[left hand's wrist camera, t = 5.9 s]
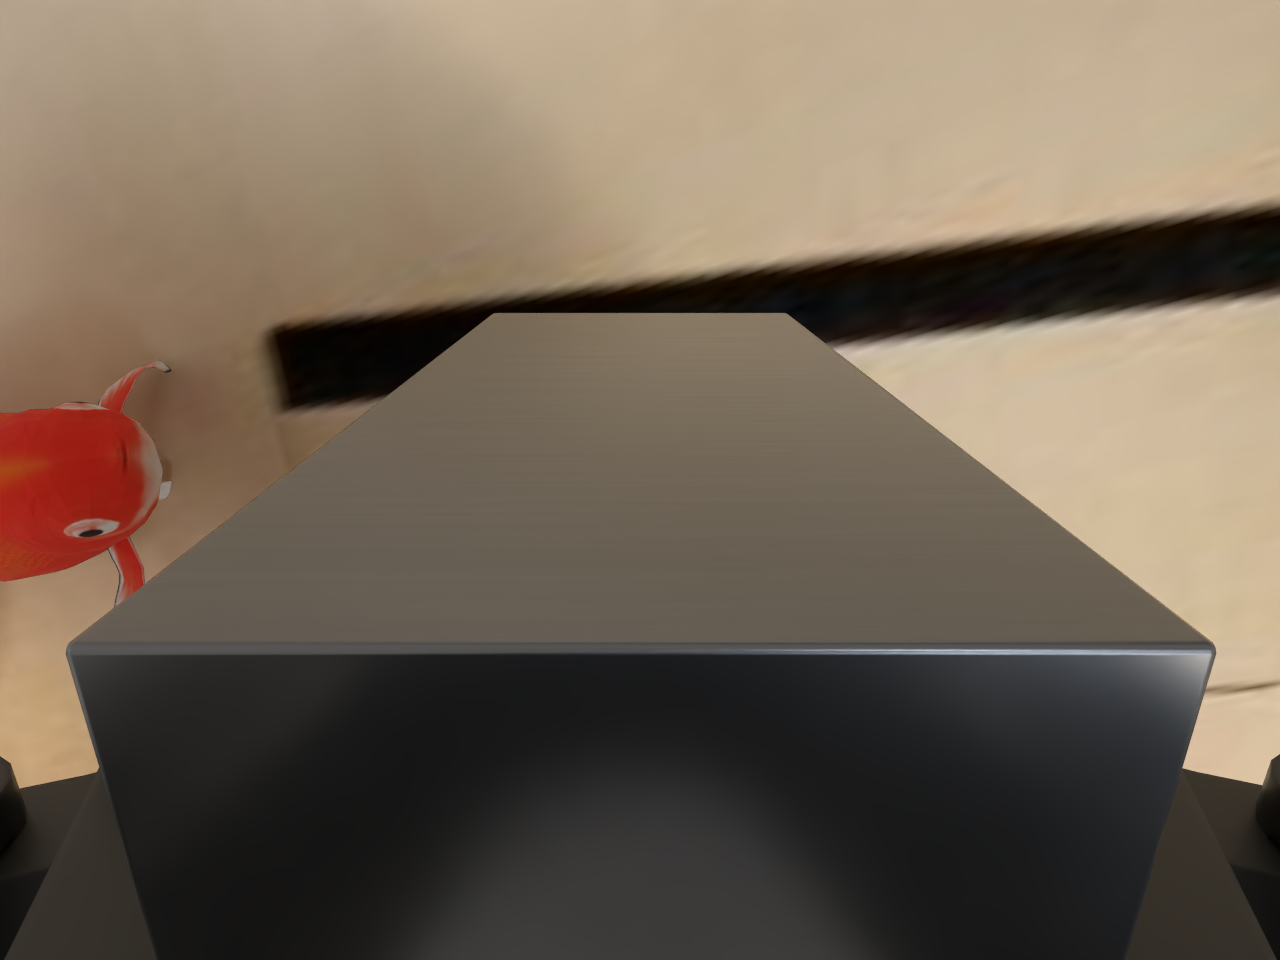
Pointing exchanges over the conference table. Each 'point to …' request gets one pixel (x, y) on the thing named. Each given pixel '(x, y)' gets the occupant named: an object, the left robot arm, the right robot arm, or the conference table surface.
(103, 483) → the fish
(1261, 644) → the conference table surface
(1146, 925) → the left robot arm
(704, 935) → the box
